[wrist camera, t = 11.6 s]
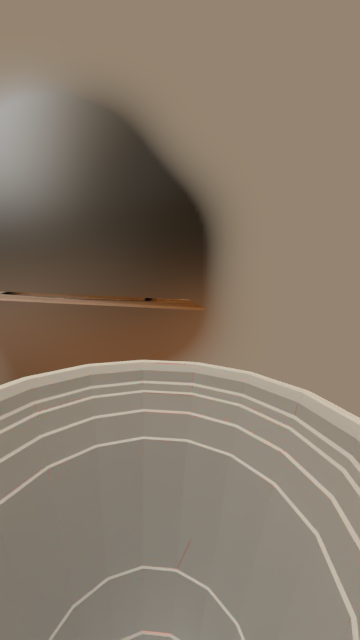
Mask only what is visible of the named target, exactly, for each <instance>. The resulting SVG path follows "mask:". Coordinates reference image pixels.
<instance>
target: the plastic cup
mask: <svg viewBox="0 0 360 640" xmlns="http://www.w3.org/2000/svg"><path fill="white" fill-rule="evenodd" d="M0 640H360V418H359V417H357V416H355V415H353V414H351V413H349V412H348V411H346V410H344V409H342V408H340V407H338V406H336V405H334V404H332V403H330V402H329V401H327V400H325V399H323V398H321V397H320V396H318V395H316V394H314V393H312V392H310V391H308V390H304V389H302V388H298V387H295V386H293V385H290V384H286V383H283V382H280V381H277V380H274V379H271V378H268V377H265V376H262V375H259V374H256V373H253V372H249V371H244V370H238V369H232V368H227V367H221V366H216V365H210V364H204V363H198V362H182V361H159V360H136V361H135V360H134V361H121V362H109V363H97V364H86V365H81V366H76V367H71V368H66V369H61V370H57V371H52V372H47V373H42V374H37V375H32V376H27V377H23V378H20V379H17V380H15V381H11V382H9V383H6V384H3V385H0Z"/></svg>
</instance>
